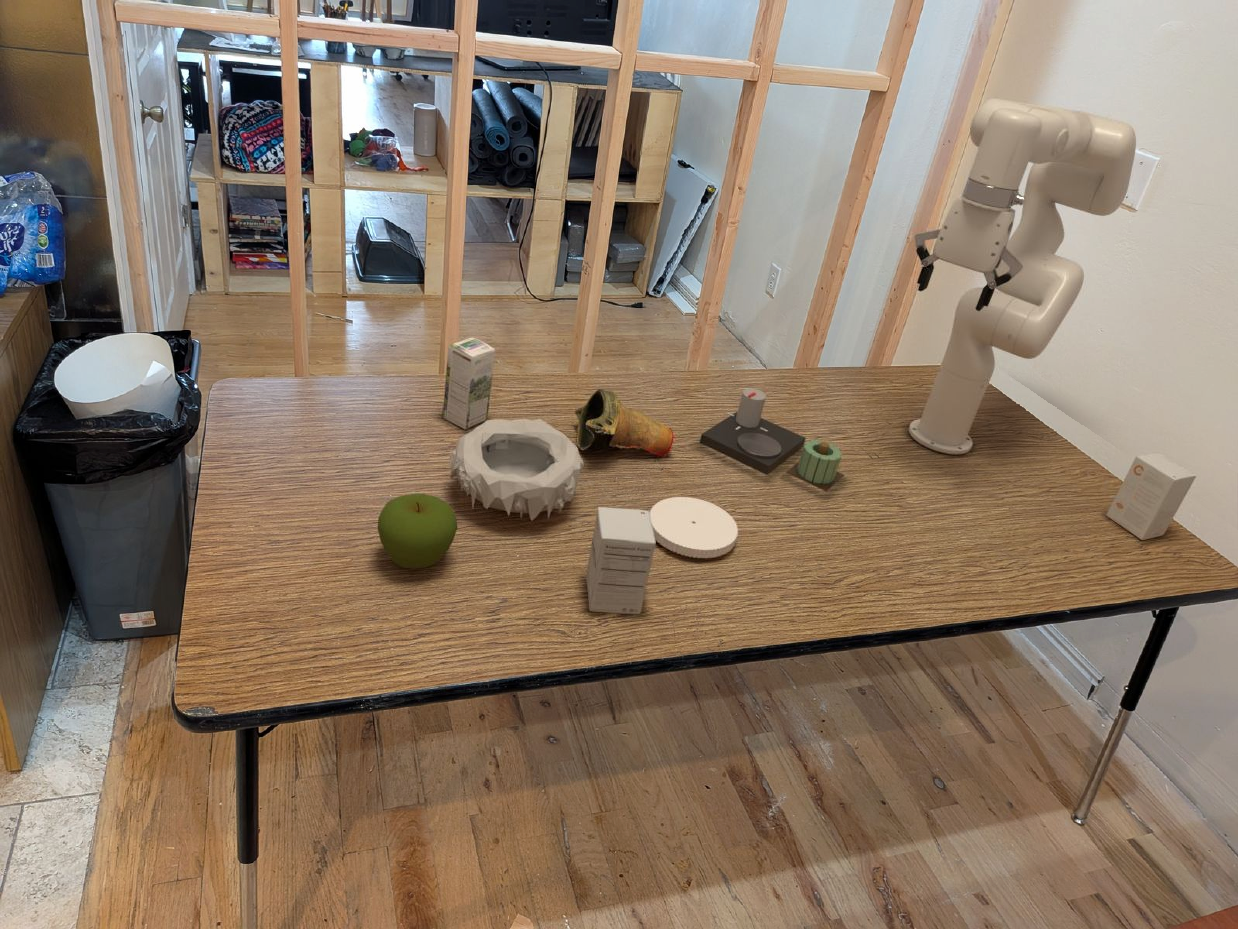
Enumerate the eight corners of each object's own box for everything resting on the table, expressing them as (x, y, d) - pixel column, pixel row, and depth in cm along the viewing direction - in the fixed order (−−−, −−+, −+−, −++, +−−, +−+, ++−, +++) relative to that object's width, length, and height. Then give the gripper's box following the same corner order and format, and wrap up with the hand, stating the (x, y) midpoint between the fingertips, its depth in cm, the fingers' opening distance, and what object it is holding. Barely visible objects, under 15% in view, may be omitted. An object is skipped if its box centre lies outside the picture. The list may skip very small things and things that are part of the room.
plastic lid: (745, 564, 139) (749, 551, 138) (655, 562, 136) (658, 549, 135) (721, 511, 151) (725, 498, 150) (638, 508, 148) (641, 495, 146)
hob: (734, 420, 179) (738, 405, 178) (802, 451, 173) (806, 436, 171) (694, 446, 168) (697, 431, 166) (765, 480, 161) (769, 465, 160)
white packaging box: (584, 577, 131) (597, 504, 124) (635, 581, 132) (651, 509, 125) (587, 612, 124) (600, 537, 118) (641, 616, 125) (657, 542, 119)
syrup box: (464, 408, 166) (470, 335, 159) (488, 421, 164) (496, 347, 156) (442, 418, 162) (446, 343, 155) (466, 431, 160) (472, 356, 152)
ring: (806, 459, 168) (814, 436, 165) (839, 474, 165) (847, 451, 162) (791, 472, 163) (798, 448, 160) (824, 488, 160) (832, 464, 157)
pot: (696, 427, 155) (602, 390, 148) (671, 488, 156) (576, 455, 150) (661, 408, 171) (575, 374, 164) (638, 464, 172) (551, 433, 166)
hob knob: (742, 414, 175) (750, 384, 172) (762, 423, 173) (770, 393, 170) (731, 421, 172) (738, 391, 169) (751, 430, 170) (759, 400, 167)
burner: (750, 430, 170) (750, 428, 170) (788, 448, 166) (789, 445, 166) (728, 445, 164) (729, 442, 164) (768, 463, 160) (768, 460, 160)
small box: (1163, 536, 167) (1198, 475, 160) (1141, 541, 164) (1175, 480, 157) (1126, 510, 173) (1158, 451, 166) (1104, 515, 170) (1135, 455, 163)
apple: (417, 596, 122) (420, 535, 117) (359, 562, 126) (359, 502, 121) (470, 559, 130) (475, 501, 125) (414, 528, 134) (417, 470, 129)
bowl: (601, 492, 150) (610, 439, 145) (540, 555, 133) (548, 498, 128) (492, 449, 156) (497, 397, 151) (421, 504, 139) (424, 448, 134)
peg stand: (803, 462, 169) (813, 428, 165) (842, 480, 166) (854, 446, 162) (784, 477, 163) (794, 442, 159) (824, 497, 160) (836, 461, 156)
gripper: (1050, 207, 141) (1007, 311, 150) (941, 176, 148) (907, 277, 157) (1040, 214, 135) (997, 322, 144) (927, 182, 142) (893, 286, 151)
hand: (950, 298), depth 150 cm, fingers open, 9 cm apart
